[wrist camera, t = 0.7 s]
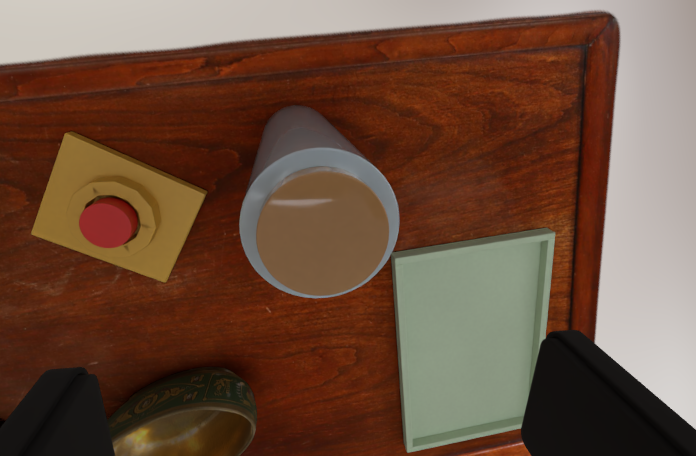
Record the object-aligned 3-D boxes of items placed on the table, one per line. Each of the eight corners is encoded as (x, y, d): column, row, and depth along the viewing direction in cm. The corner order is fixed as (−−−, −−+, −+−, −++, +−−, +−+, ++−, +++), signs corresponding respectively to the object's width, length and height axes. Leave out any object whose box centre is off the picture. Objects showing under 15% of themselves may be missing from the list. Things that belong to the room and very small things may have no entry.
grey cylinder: (281, 91, 36) (283, 119, 14) (345, 126, 38) (437, 200, 16) (250, 157, 38) (208, 276, 16) (313, 187, 40) (356, 332, 17)
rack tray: (390, 252, 43) (394, 258, 42) (546, 227, 45) (555, 232, 44) (403, 442, 54) (407, 453, 52) (530, 415, 56) (537, 424, 54)
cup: (62, 368, 42) (0, 452, 33) (257, 348, 45) (251, 420, 36) (91, 459, 47) (43, 555, 37) (266, 435, 50) (263, 519, 40)
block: (71, 130, 35) (53, 135, 32) (207, 191, 38) (202, 200, 35) (37, 229, 37) (18, 242, 34) (168, 277, 41) (160, 292, 38)
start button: (96, 189, 34) (87, 195, 32) (145, 209, 35) (138, 215, 34) (81, 229, 35) (72, 237, 33) (129, 247, 36) (122, 255, 35)
